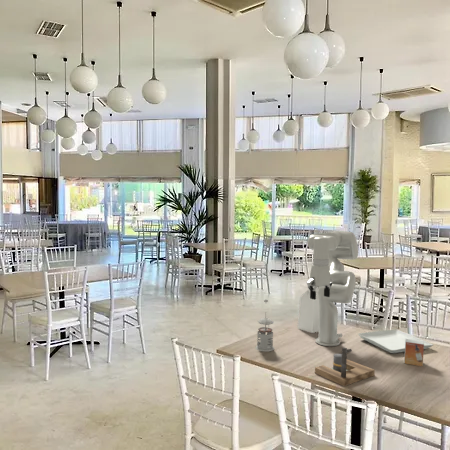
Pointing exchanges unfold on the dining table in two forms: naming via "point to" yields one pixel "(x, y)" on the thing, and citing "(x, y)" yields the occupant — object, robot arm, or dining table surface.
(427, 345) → the square plate
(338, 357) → the grey cylinder
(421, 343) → the small box
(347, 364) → the wooden stand with post
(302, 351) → the dining table surface
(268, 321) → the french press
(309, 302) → the milk
